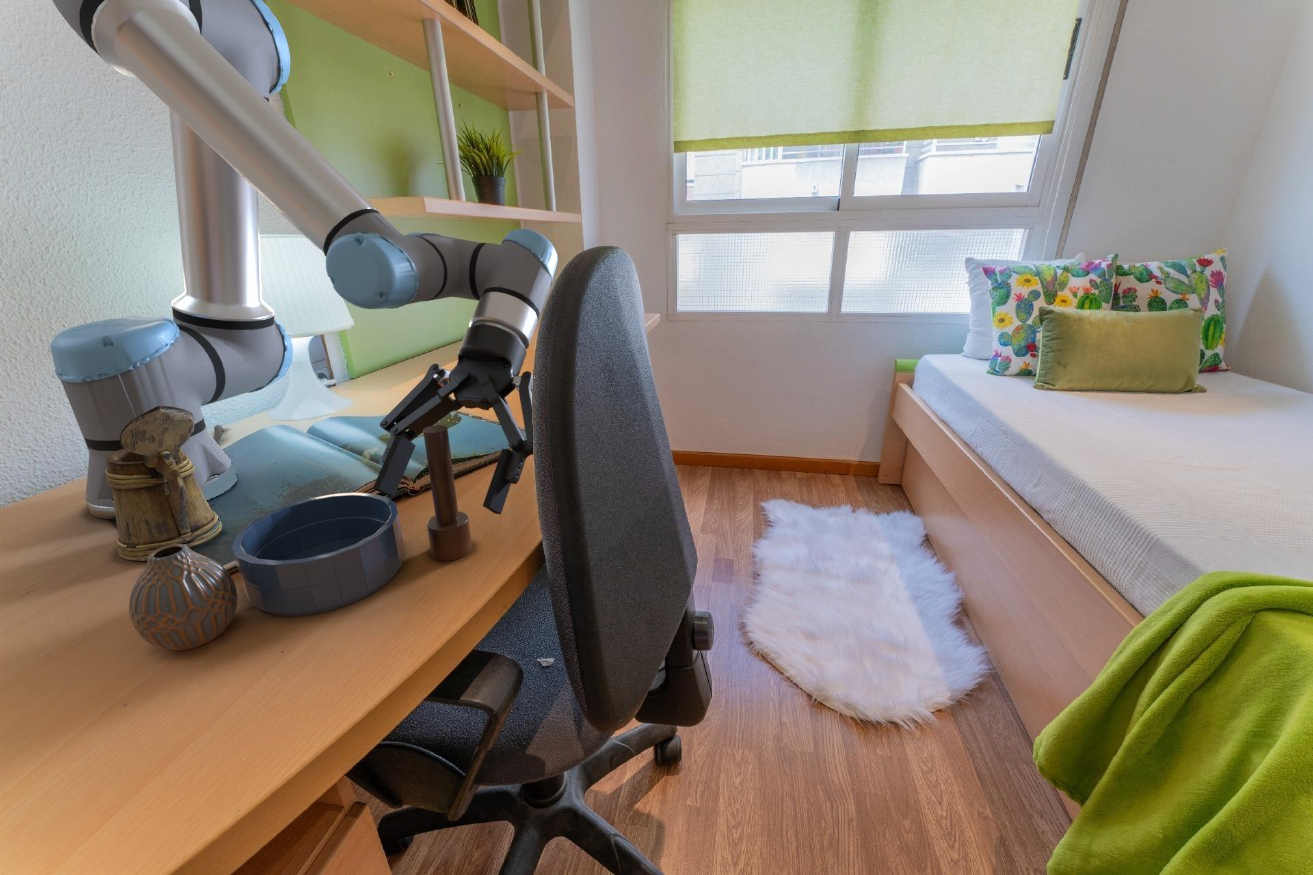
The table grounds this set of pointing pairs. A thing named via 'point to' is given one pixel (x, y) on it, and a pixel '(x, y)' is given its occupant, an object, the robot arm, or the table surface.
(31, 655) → the table surface
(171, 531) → the wooden mug
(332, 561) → the bowl
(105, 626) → the table surface
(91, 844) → the table surface
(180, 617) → the vase
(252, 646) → the table surface
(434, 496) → the pestle
